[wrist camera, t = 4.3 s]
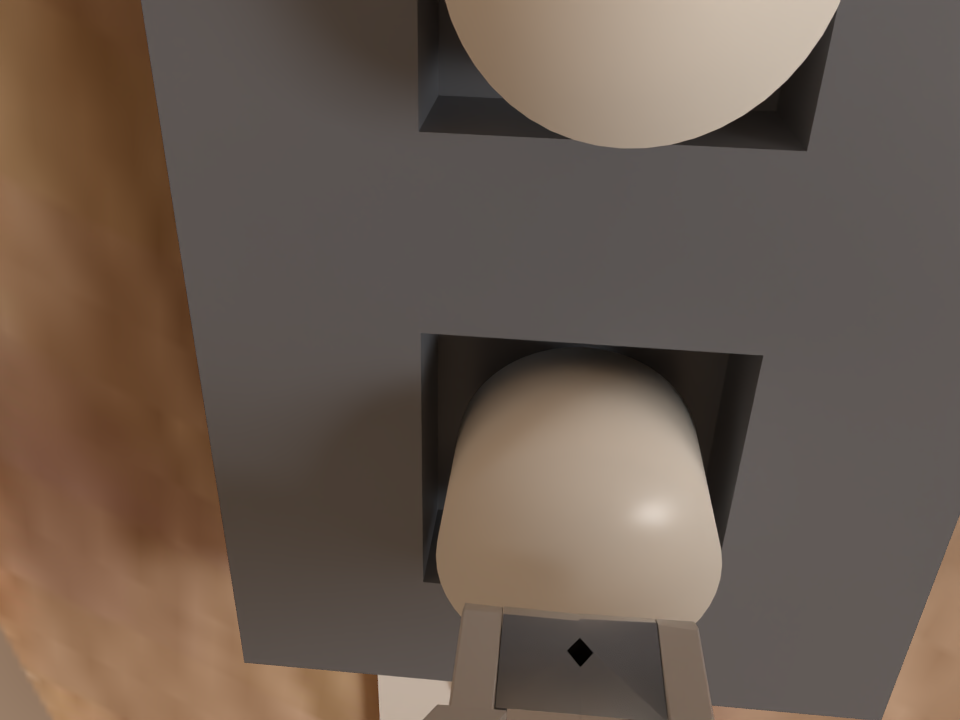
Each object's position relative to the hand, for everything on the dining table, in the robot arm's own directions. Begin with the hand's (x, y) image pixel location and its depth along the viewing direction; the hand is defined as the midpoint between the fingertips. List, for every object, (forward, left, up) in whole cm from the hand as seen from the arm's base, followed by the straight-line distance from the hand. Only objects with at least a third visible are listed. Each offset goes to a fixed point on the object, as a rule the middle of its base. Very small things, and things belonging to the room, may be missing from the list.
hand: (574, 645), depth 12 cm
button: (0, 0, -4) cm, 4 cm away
